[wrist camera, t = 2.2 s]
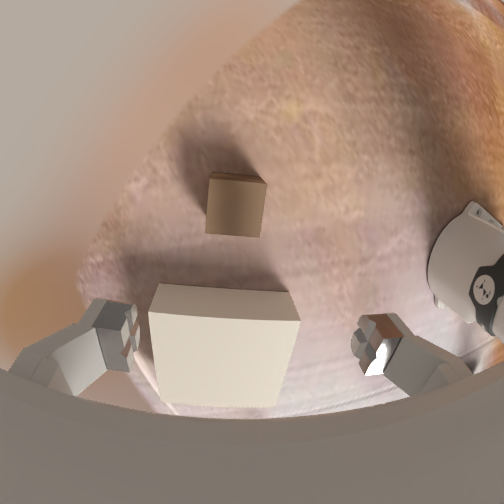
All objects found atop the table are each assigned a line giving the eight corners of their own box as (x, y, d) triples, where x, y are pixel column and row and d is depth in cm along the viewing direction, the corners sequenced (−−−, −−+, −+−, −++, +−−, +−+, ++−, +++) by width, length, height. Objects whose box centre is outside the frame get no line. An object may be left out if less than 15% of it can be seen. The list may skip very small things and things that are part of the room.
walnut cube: (260, 176, 28) (266, 184, 23) (254, 221, 30) (259, 237, 25) (212, 171, 27) (209, 178, 23) (208, 217, 29) (205, 233, 25)
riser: (289, 292, 34) (300, 320, 28) (269, 377, 40) (274, 406, 34) (159, 283, 32) (148, 311, 26) (166, 372, 38) (161, 401, 32)
